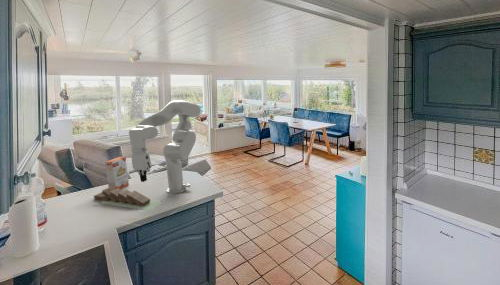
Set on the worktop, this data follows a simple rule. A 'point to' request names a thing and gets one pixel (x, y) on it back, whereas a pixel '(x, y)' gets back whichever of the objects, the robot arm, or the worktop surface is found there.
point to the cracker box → (117, 173)
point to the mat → (136, 206)
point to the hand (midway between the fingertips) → (143, 180)
